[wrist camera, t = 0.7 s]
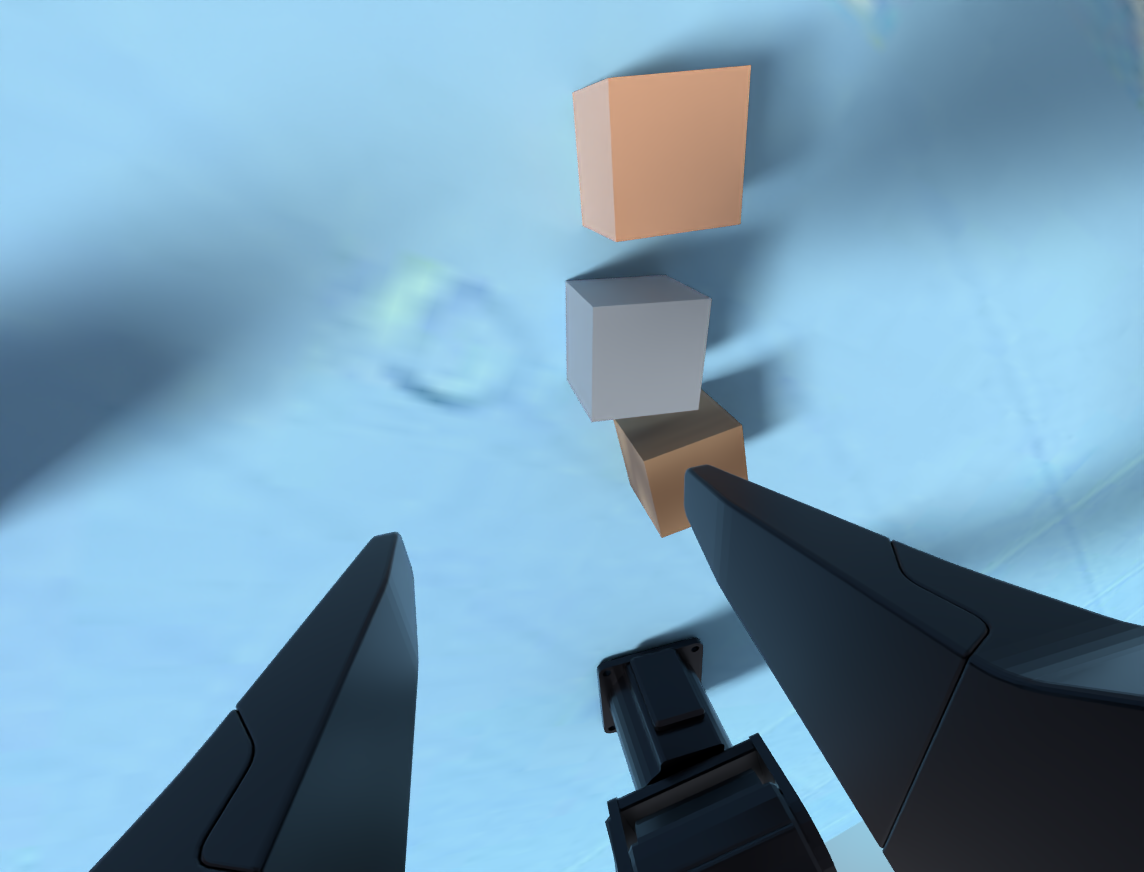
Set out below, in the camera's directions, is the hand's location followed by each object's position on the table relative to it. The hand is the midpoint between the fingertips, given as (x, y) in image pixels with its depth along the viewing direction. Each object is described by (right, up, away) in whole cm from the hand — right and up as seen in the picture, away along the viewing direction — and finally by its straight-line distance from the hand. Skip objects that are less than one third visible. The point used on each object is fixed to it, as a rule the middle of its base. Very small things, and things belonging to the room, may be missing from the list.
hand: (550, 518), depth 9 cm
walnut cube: (+5, +1, +15) cm, 15 cm away
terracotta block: (+2, +11, +9) cm, 14 cm away
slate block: (+2, +6, +12) cm, 13 cm away
